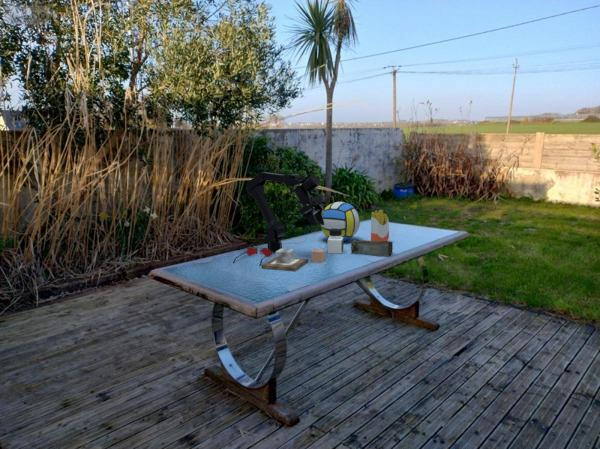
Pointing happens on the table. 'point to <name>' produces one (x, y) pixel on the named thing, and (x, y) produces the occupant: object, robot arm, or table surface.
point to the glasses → (254, 251)
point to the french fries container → (379, 226)
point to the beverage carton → (372, 247)
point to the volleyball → (341, 219)
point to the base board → (284, 267)
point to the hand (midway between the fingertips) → (320, 225)
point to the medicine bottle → (335, 241)
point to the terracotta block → (318, 255)
